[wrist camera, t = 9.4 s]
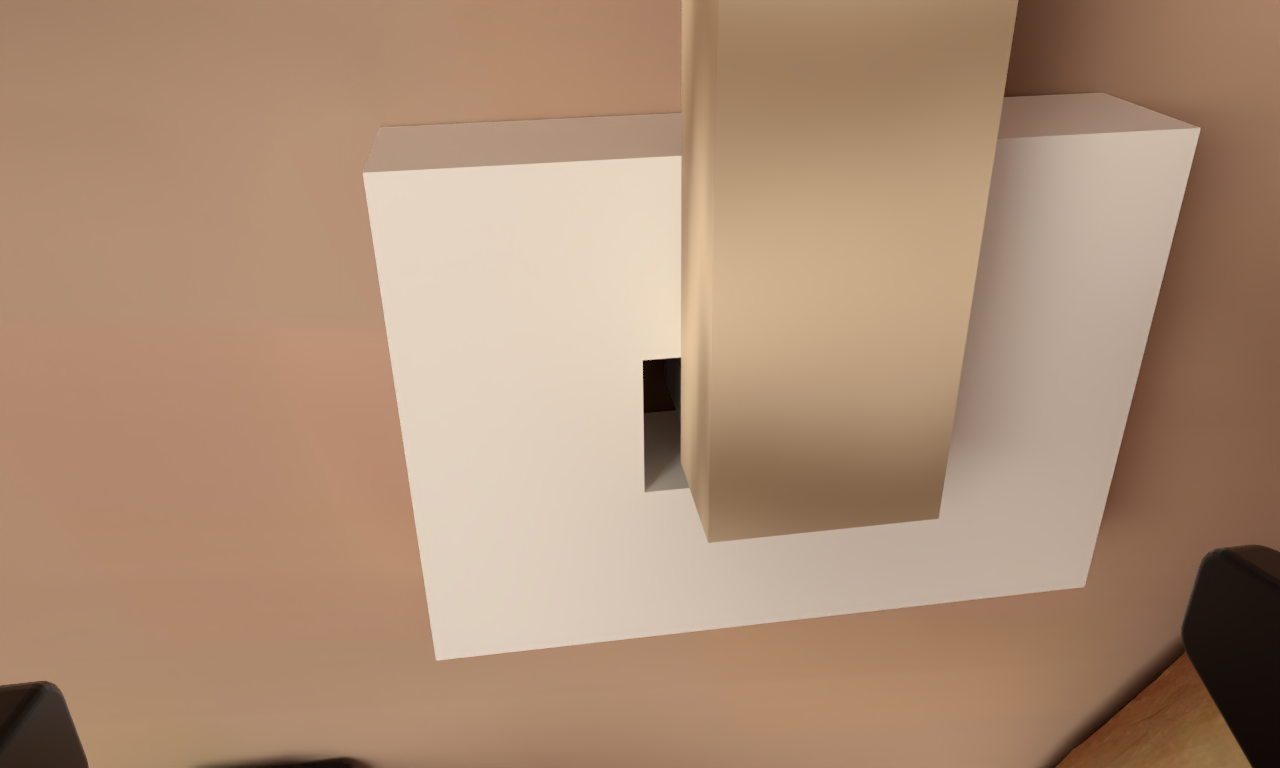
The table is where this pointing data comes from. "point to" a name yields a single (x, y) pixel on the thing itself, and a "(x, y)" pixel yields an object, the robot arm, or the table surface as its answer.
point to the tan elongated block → (829, 252)
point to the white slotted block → (651, 329)
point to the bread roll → (1163, 729)
